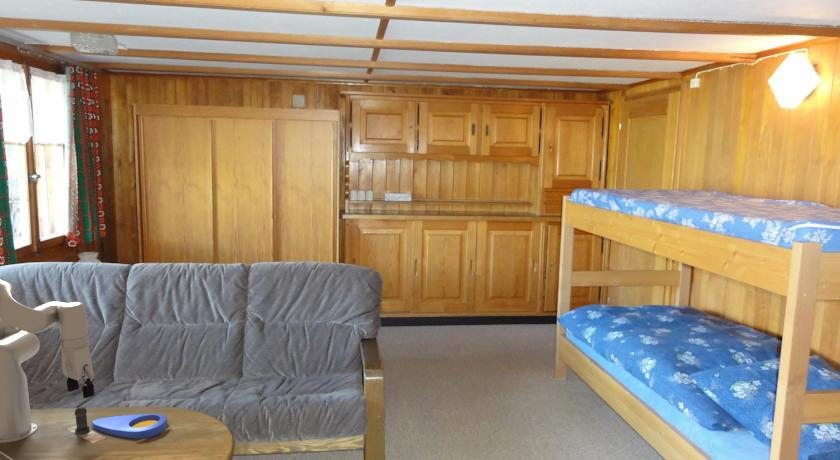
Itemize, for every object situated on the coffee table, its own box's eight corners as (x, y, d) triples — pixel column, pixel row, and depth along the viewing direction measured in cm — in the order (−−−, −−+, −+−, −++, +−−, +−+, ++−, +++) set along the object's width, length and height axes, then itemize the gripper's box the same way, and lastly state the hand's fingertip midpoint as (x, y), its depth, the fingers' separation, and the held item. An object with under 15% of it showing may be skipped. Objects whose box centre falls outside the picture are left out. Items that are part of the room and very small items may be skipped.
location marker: (80, 438, 190) (152, 441, 186) (78, 428, 189) (152, 431, 186) (106, 420, 202) (175, 422, 199) (105, 410, 202) (174, 412, 199)
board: (64, 431, 193) (64, 429, 193) (80, 425, 197) (80, 423, 197) (91, 445, 184) (91, 443, 183) (107, 439, 188) (107, 437, 188)
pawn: (72, 432, 191) (70, 408, 190) (85, 427, 194) (83, 403, 193) (79, 435, 189) (77, 411, 187) (92, 430, 192) (89, 406, 191)
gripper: (49, 340, 189) (55, 392, 191) (76, 349, 179) (82, 403, 182) (73, 334, 195) (79, 384, 197) (101, 342, 185) (107, 394, 188)
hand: (81, 393), depth 190 cm, fingers open, 9 cm apart
